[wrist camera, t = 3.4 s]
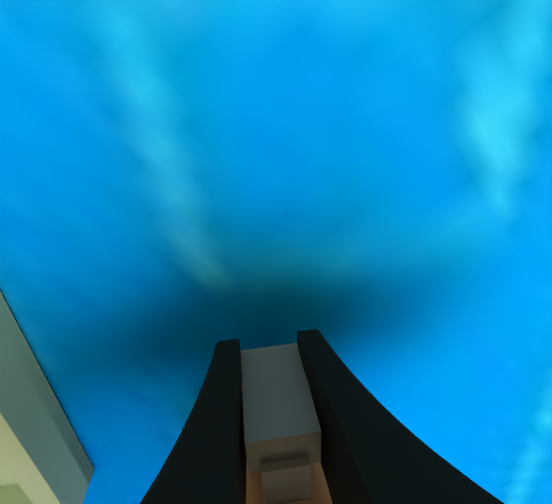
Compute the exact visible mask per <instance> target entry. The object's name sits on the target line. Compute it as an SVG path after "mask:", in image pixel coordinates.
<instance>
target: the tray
mask: <svg viewBox="0 0 552 504" xmlns="http://www.w3.org/2000/svg"><path fill="white" fill-rule="evenodd" d="M93 472H94V468H93V466H92V464H91V462H90V461H89V459H88V457H87V455H86V453H85V451H84V449H83V447H82V445H81V443H80V442H79V440H78V438H77V436H76V434H75V432H74V430H73V428H72V426H71V425H70V423H69V421H68V419H67V417H66V415H65V413H64V411H63V409H62V407H61V406H60V404H59V402H58V400H57V398H56V396H55V394H54V392H53V390H52V389H51V387H50V385H49V383H48V381H47V379H46V377H45V375H44V373H43V371H42V370H41V368H40V366H39V364H38V362H37V360H36V358H35V356H34V354H33V353H32V351H31V349H30V347H29V345H28V343H27V341H26V339H25V337H24V335H23V334H22V332H21V330H20V328H19V326H18V324H17V322H16V320H15V318H14V317H13V315H12V313H11V311H10V309H9V307H8V305H7V303H6V301H5V299H4V298H3V296H2V294H1V292H0V504H83V501H84V498H85V495H86V492H87V489H88V486H89V483H90V480H91V478H92V475H93Z"/></svg>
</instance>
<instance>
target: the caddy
mask: <svg viewBox="0 0 552 504" xmlns="http://www.w3.org/2000/svg"><path fill="white" fill-rule="evenodd" d="M240 351H241V366H242V399H243V419H244V438H245V448H246V455H247V473H246V504H332V500H331V496H330V493H329V489H328V485H327V482H326V479H325V476H324V472H323V469H322V466H321V463H320V462H321V428H320V424H319V421H318V417H317V413H316V410H315V406H314V402H313V399H312V395H311V391H310V388H309V384H308V380H307V377H306V375H305V372H304V369H303V365H302V361H301V358H300V354H299V350H298V346H297V343H291V344H283V345H276V346H268V347H261V348H253V349H245V350H240Z"/></svg>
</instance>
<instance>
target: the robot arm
mask: <svg viewBox="0 0 552 504" xmlns="http://www.w3.org/2000/svg"><path fill="white" fill-rule="evenodd" d="M297 346H298V350H299V354H300V358H301V361H302V365H303V369H304V372H305V375H306V377H307V380H308V384H309V388H310V391H311V395H312V399H313V402H314V406H315V410H316V413H317V417H318V421H319V424H320V428H321V462H320V463H321V466H322V469H323V472H324V476H325V479H326V482H327V485H328V489H329V493H330V496H331V500H332V504H504V503H503V502H501V501H500V500H499V499H497V498H496V497H494V496H493V495H491V494H490V493H489V492H487V491H486V490H484V489H483V488H481V487H480V486H479V485H477V484H476V483H475V482H473V481H472V480H471V479H469V478H468V477H467V476H466V475H464V474H463V473H462V472H460V471H459V470H458V469H456V468H455V467H454V466H452V465H451V464H450V463H448V462H447V461H446V460H445V459H443V458H442V457H441V456H439V455H438V454H437V453H436V452H434V451H433V450H432V449H431V448H430V447H428V446H427V445H426V444H425V443H424V442H422V441H421V440H420V439H419V438H418V437H416V436H415V435H414V434H413V433H412V432H411V431H410V430H408V429H407V428H406V427H405V426H404V425H403V424H402V423H401V422H400V421H398V420H397V419H396V418H395V417H394V416H393V415H392V414H391V413H390V412H389V411H388V410H387V409H386V408H385V407H384V406H383V405H382V404H381V403H380V402H379V401H378V400H377V399H376V398H375V397H374V396H373V395H372V394H371V393H370V392H369V391H368V390H367V389H366V388H365V387H364V386H363V384H362V383H361V382H360V381H359V380H358V379H357V378H356V377H355V375H354V374H353V373H352V372H351V371H350V370H349V369H348V367H347V366H346V365H345V364H344V363H343V362H342V360H341V359H340V358H339V357H338V355H337V354H336V353H335V352H334V350H333V349H332V348H331V346H330V345H329V344H328V342H327V341H326V340H325V338H324V337H323V336H322V334H321V333H320V331H318V330H317V329H313V330H305V331H297ZM246 473H247V455H246V448H245V438H244V419H243V399H242V366H241V351H240V343H239V339H235V340H227V341H219V342H218V343H217V344H216V345H215V350H214V354H213V357H212V361H211V364H210V367H209V369H208V372H207V375H206V378H205V380H204V383H203V385H202V388H201V390H200V392H199V395H198V397H197V400H196V402H195V404H194V407H193V409H192V411H191V413H190V415H189V417H188V419H187V421H186V423H185V425H184V427H183V429H182V432H181V434H180V436H179V437H178V439H177V441H176V443H175V445H174V447H173V449H172V451H171V452H170V454H169V456H168V458H167V460H166V461H165V463H164V465H163V467H162V468H161V470H160V472H159V474H158V475H157V477H156V479H155V480H154V482H153V483H152V485H151V487H150V488H149V490H148V491H147V493H146V495H145V496H144V498H143V499H142V501H141V503H140V504H246Z"/></svg>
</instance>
